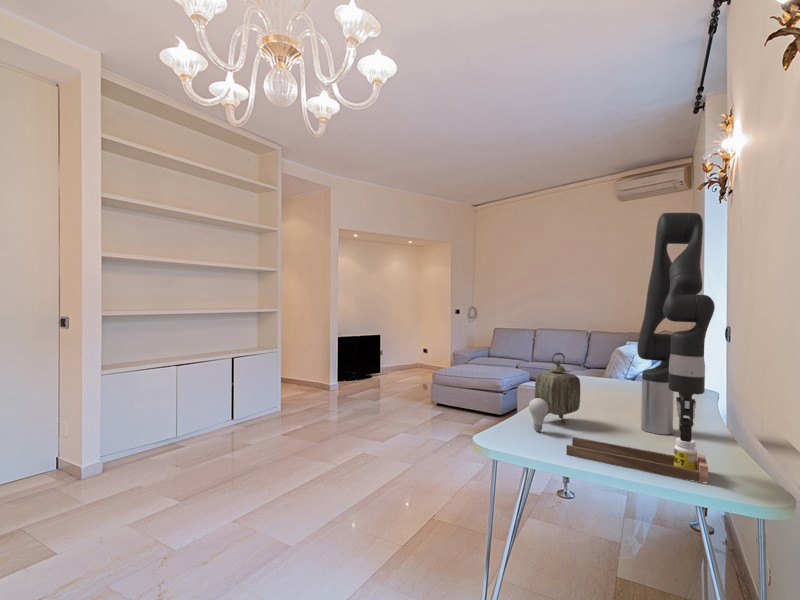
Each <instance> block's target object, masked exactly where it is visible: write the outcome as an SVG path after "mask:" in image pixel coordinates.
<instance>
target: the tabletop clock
mask: <svg viewBox="0 0 800 600" xmlns="http://www.w3.org/2000/svg"><path fill="white" fill-rule="evenodd" d="M559 355H561V356H562V357H563V359H562V361H561V360H556V362H555V361H554V358H555V356H559ZM551 361H552V363H553V364H554V365H553V366H552V367H551V368H550V370H546V371H541V372H539V373H537V375H536V378H535V382H534V383H535V385H534V399H535V398H540V399H543V400H544V401H545V402H546V403H547V405H548V412H547V414H546V416H548V415H549V414H551V415H555V416H558V418H559V419H560V421H559V422H560V424H561V425H564V424H565V423H566V421H565V419H564V415H568V414H572V413H575V412H577V411H579V409H580V403H581V380H580V378H579V377H578V376H577V375H576V374H574V373H569V372H567V370H566V368H565V367H564V366H562V364H563V363H564V362H565V361H566V357H565V355H564V353H563V352H555V353H554V354H553V355H552V357H551Z"/></svg>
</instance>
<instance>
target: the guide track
mask: <svg viewBox="0 0 800 600" xmlns="http://www.w3.org/2000/svg"><path fill="white" fill-rule="evenodd" d="M571 441H572V442H571V444H572V445H571V444H567V445H566V455H567V456H570V457H575V458H579V459H580V458H581V459H583V460H584V459H586V460H590V461H594V462H599V463H604V464H609V465H614V466H618V467H623V468H628V469H633V470H638V471H642V472H647V473H652V474H656V475H661V476H666V477H670V478H675V477H676V479H680V478H681V480H685V479H688V480H687V481H689V480H694V481H700V482H707V483H708V484H709V465H708V462H707V459H706V455H704V454H700V453H697V470H693V469H688V468H683V467H678V466H674V454H669V453H668V454H667V453H662V452H658V451H657V452H656V451H652V450H646V449H641V448H636V447H635V448H634V447H630V446H625V445H620V444H614V443H608V442H602V441H597V440H592V439H588V438H587V439H586V438H582V437H576V436H573V437H572V440H571ZM694 481H693V482H694Z"/></svg>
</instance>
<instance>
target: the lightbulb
mask: <svg viewBox="0 0 800 600" xmlns="http://www.w3.org/2000/svg"><path fill="white" fill-rule="evenodd" d="M528 409H529V410H528V411H529V412H530V414H531V417H532V423H533V428H534V429H533V430H534V431H536V432H537V433H539V432H541V431H543V425H544V421H545V417H546V416H547V415H548V414H547V412H548V405H547V403H546V402H545V401H544V400H543V399H540V398H535V397H534V398H533V399H531V400H530V401H529V404H528ZM546 414H547V415H546Z"/></svg>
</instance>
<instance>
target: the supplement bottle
mask: <svg viewBox="0 0 800 600" xmlns="http://www.w3.org/2000/svg"><path fill="white" fill-rule="evenodd" d="M673 447H674V448H673V455H674V466H678V467H683V468H688V469H693V470H697V454H698V450H697V449H696V440H694V439H691V442H685V441H681V439H680V437H676V440H675V445H674V446H673Z"/></svg>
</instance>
